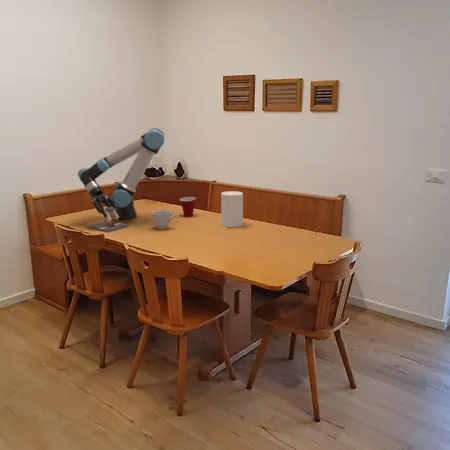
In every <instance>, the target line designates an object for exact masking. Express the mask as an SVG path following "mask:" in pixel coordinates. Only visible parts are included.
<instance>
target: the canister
mask: <svg viewBox="0 0 450 450" xmlns="http://www.w3.org/2000/svg"><path fill="white" fill-rule="evenodd" d="M220 195H221V196H220V199H221V200H220V204H221V205H220V209H221V211H220V212H221V214H220V217H221V219H220V220H221V223H220V224H221V226H222V227H226V228H239V227H242V226H244V193H243V192H242V191H236V190H230V191H229V190H228V191H227V190H226V191H223V192H221V193H220Z"/></svg>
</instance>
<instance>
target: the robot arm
mask: <svg viewBox="0 0 450 450" xmlns="http://www.w3.org/2000/svg"><path fill="white" fill-rule="evenodd" d="M164 143H165V134H164V132H163V131H162V130H161V129H160V128H156V127H155V128H151V129H148V131H147V132H145V133H144V134H142V135H140V138H138V139H137V140H134V141H132V142H131V143H129V144H127V145H125V146H124V147H121V148H120V149H118V150H116V151H114V152H112V153H110V154H109V155H107V156H105V157H102V158H100V159H98V160H97V162H96V163H94V164H93V165H92V166H91V167H89V168H88V167H83V168H81V169H80V170H78V172H77V176H78V178H79V180H80V182H81V183H82V184H83V186H84V187H85V189H86V190H87V193H89V195H90V197H91V199H90V202H91V203H92V205H93V206H94V208H95V210H96V211H97V213H98V214H101V215H103V216H104V218H105V220H106V219H107V220H108V222H110V221H111V217H110V216H109V214H108V213H107V211H105V207H104V205H105V206H106V208H107V207H113V208H114V220H116V221H126V220H133V219H136V218H137V217H138V214H137V211H136V208H135V206H134V204H135V201H134V196H135V194H136V192H137V190H136V187H137V186H138V184H139V182H140V180H141V179H142V177H143V174H144V173H145V171H146V170H147V168H148V166H149V164H150V162H151V160H152V158H153V157H154V156H156V155H158V153H159V151H160V149H161V148H162V146H163V145H164ZM135 155H137V156H136V157H135V159H134V160H133V162H132V164H131V166H130V168H129V170H128V171H127V173H126V175H125V177H124V179H123V180H122V181H120V182H119V183H115V184H114V192H113V193H112V194H111V196H110V195H109V194H108V195H105V194H104V192H103V191H104V190H102V188H101V186H100V185H99V184H98V182H97V180H96V179H98V178H99V177H100V176H102V175H103V174H104V173H106V172H107V171H108V170H109V169H111V168H113V167H115V166H116V165H118V164H121V163H122V162H124V161H126V160H128V159H129V158H132V157H133V156H135Z"/></svg>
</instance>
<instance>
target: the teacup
mask: <svg viewBox="0 0 450 450" xmlns="http://www.w3.org/2000/svg"><path fill="white" fill-rule="evenodd" d="M151 214H152V217H153V222H154V223H153V224H154V225H155V226H156V227H157V229H158V230H165V229H167V228H168V226H169V224H170V222H171V221H174V220H176V219H177V214H176V212H172V211H171V210H169V209H168V210H167V209H157V210H153V211H151ZM173 215H174V217H173V218H171V217H172V216H173Z"/></svg>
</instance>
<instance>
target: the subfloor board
mask: <svg viewBox="0 0 450 450" xmlns="http://www.w3.org/2000/svg"><path fill="white" fill-rule="evenodd" d="M126 228H129V224H126V223H121V222H117V221H114V226H111V227H108V226H106V221H104V222H99V223H95V224H91V225H88V229H92V230H95V231H101V232H104V233H111V232H115V231H118V230H122V229H126Z"/></svg>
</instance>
